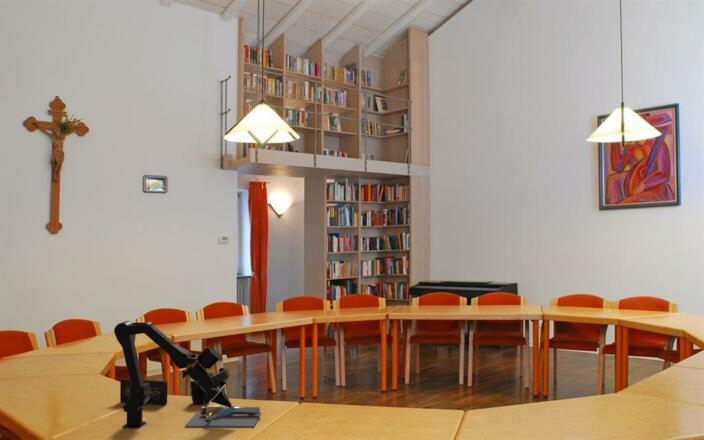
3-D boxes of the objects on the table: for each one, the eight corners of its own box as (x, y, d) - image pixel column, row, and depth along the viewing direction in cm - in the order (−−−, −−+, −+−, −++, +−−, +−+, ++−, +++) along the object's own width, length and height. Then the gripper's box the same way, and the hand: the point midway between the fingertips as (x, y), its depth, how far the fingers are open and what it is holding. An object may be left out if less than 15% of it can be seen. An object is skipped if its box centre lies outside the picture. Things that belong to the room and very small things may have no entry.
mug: (195, 399, 271) (195, 376, 272) (214, 400, 270) (214, 377, 270) (183, 407, 259) (184, 382, 260) (204, 408, 258) (204, 383, 258)
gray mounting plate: (184, 427, 232) (184, 425, 232) (196, 413, 250) (196, 412, 250) (254, 427, 232) (254, 425, 232) (261, 413, 250) (261, 412, 250)
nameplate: (167, 404, 264) (167, 380, 264) (165, 405, 262) (165, 381, 262) (122, 401, 268) (122, 378, 268) (120, 402, 266) (120, 379, 266)
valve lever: (203, 418, 233) (233, 406, 234) (204, 416, 235) (234, 405, 235) (205, 423, 233) (235, 411, 234) (206, 421, 235) (236, 410, 235)
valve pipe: (195, 423, 235) (195, 412, 236) (202, 414, 247) (202, 404, 247) (255, 423, 236) (255, 412, 236) (260, 414, 247) (260, 404, 247)
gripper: (211, 367, 226) (241, 397, 225) (221, 357, 244) (249, 385, 244) (189, 389, 225) (220, 419, 225) (201, 377, 244) (230, 405, 244)
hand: (231, 406), depth 234 cm, fingers closed, pressing on valve lever
